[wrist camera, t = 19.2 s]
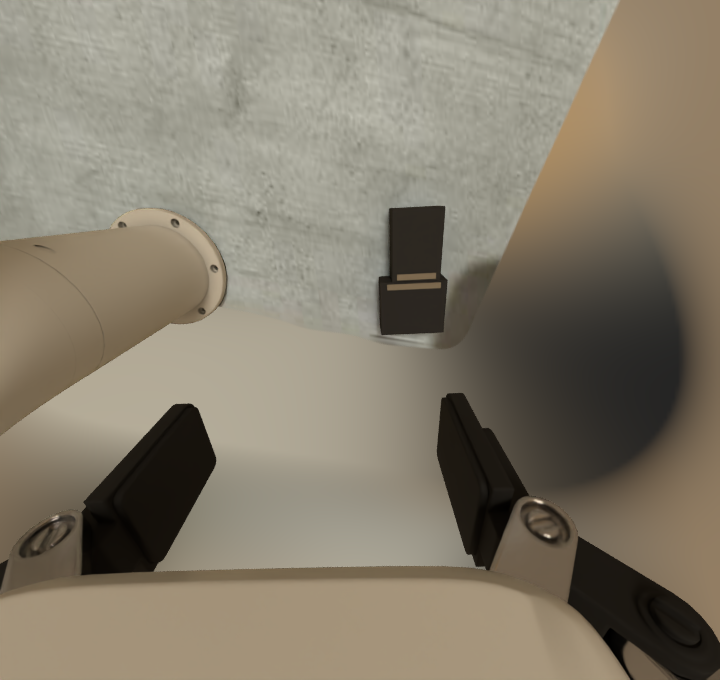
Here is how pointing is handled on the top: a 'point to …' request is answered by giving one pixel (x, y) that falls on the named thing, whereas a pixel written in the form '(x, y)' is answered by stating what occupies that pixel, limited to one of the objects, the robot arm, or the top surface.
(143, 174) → the top surface
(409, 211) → the black box
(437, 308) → the charcoal pad
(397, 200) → the top surface
